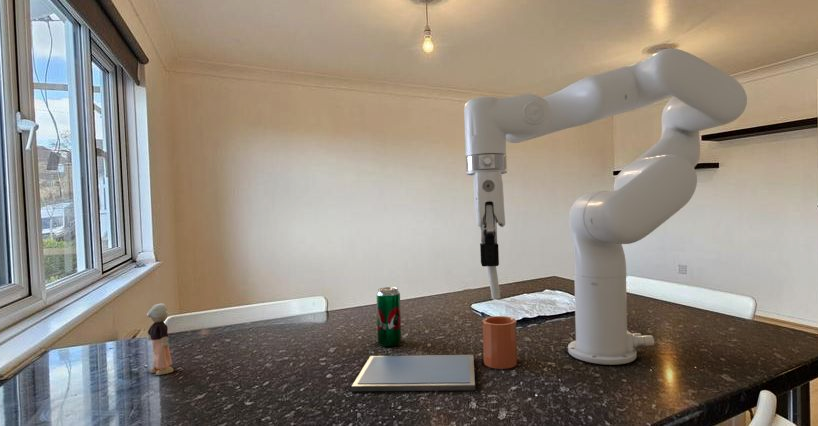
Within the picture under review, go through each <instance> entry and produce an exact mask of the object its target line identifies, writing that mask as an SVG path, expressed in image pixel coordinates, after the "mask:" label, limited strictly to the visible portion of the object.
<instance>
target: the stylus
mask: <svg viewBox="0 0 818 426" xmlns="http://www.w3.org/2000/svg"><path fill="white" fill-rule="evenodd" d="M486 267H487V273H488V280H489V288H490V294H491V295H490V296H491V299H492V300H499V299H501V292H500V283H499V277H498V270H497V266H486Z"/></svg>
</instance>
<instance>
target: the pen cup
mask: <svg viewBox="0 0 818 426" xmlns="http://www.w3.org/2000/svg"><path fill="white" fill-rule="evenodd" d="M517 339H518V337H517V319H516V318H514V317H511V316H507V315H506V316H504V315H494V316H493V315H492V316H488V317H485V318H483V319H482V350H483V353H482V355H483V364H484V366H486V367H488V368H490V369H496V370H507V369H511V368H515V367H516V366H517V365H518V340H517Z"/></svg>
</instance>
